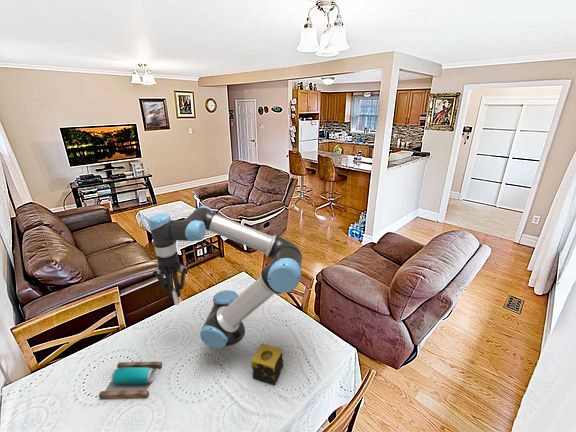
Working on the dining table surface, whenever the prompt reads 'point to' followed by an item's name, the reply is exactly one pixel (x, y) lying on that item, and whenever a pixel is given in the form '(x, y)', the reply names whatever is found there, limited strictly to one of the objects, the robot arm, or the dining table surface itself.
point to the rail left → (124, 394)
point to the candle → (267, 364)
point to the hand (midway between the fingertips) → (177, 302)
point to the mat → (126, 387)
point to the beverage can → (133, 375)
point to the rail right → (141, 364)
